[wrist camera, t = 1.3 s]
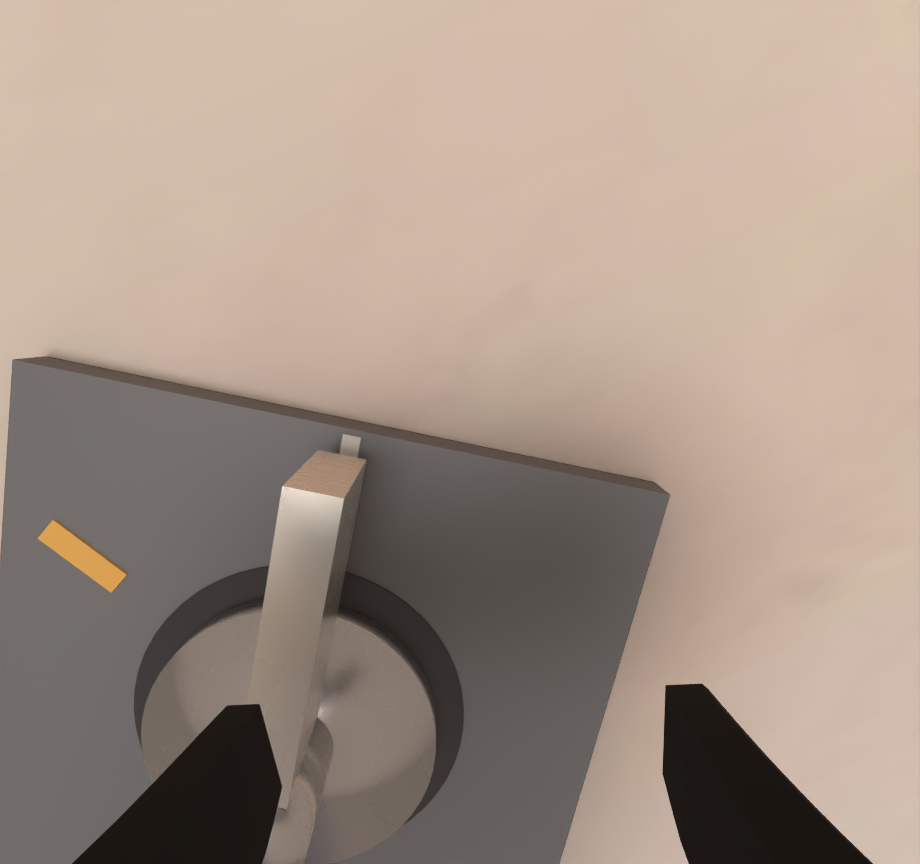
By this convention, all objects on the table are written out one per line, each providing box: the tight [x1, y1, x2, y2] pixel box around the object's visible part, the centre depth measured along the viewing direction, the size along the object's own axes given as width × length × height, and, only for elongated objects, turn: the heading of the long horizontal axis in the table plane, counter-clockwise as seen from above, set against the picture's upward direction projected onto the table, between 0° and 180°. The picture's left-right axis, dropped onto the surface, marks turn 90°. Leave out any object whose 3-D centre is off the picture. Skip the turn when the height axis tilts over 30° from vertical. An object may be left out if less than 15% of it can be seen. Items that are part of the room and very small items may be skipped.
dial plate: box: [0, 357, 670, 864], centre depth 21 cm, size 22×22×2 cm
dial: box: [141, 450, 436, 864], centre depth 17 cm, size 16×10×5 cm, turn 168°
